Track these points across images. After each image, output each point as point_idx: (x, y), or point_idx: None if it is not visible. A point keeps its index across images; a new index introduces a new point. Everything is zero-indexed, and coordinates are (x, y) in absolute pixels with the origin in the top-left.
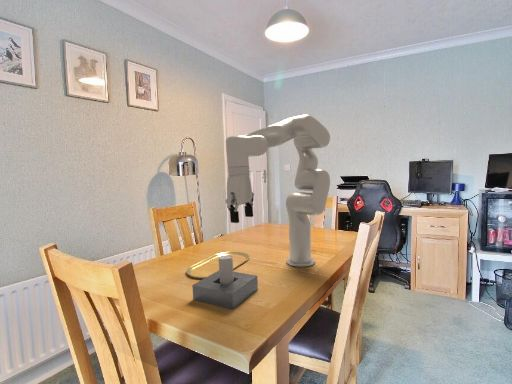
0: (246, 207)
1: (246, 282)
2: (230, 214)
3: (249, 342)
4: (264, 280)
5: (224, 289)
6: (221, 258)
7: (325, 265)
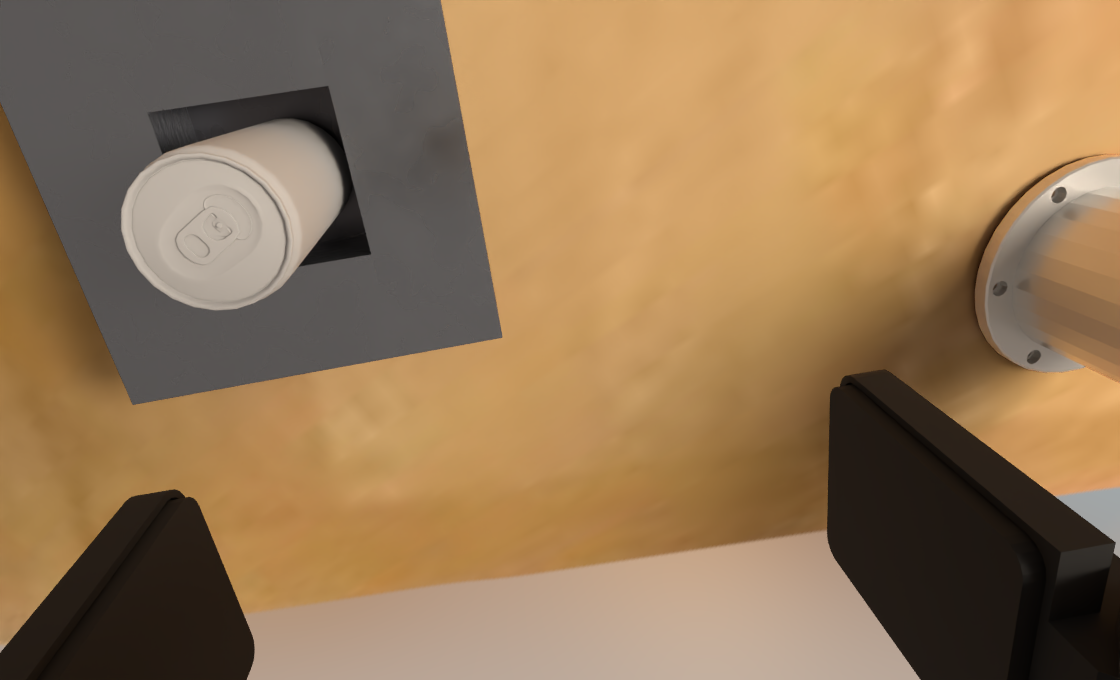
0: (994, 603)
1: (345, 357)
2: (6, 669)
3: (30, 608)
4: (646, 246)
5: (133, 311)
6: (149, 219)
7: (1049, 431)
